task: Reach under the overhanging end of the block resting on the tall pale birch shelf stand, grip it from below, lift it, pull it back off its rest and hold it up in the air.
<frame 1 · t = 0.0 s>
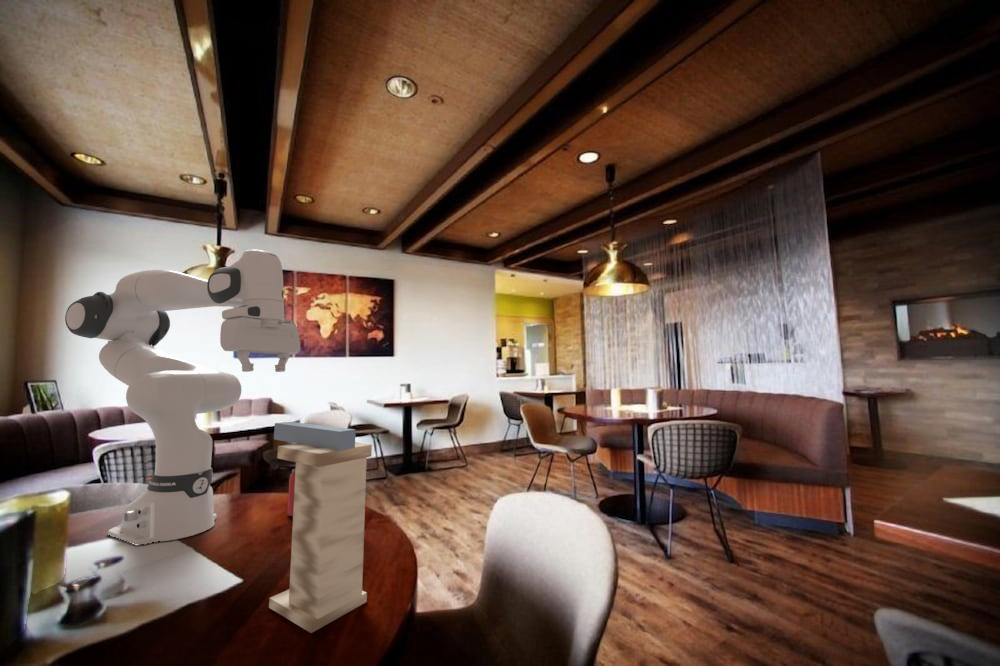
hand: (264, 371, 97), 39 cm above the table, tool pointing down, fingers open, 8 cm apart
beer can: (300, 514, 112), on the table
shelf stand: (318, 604, 68), on the table
block: (312, 443, 73), point 26 cm above the table, touching shelf stand
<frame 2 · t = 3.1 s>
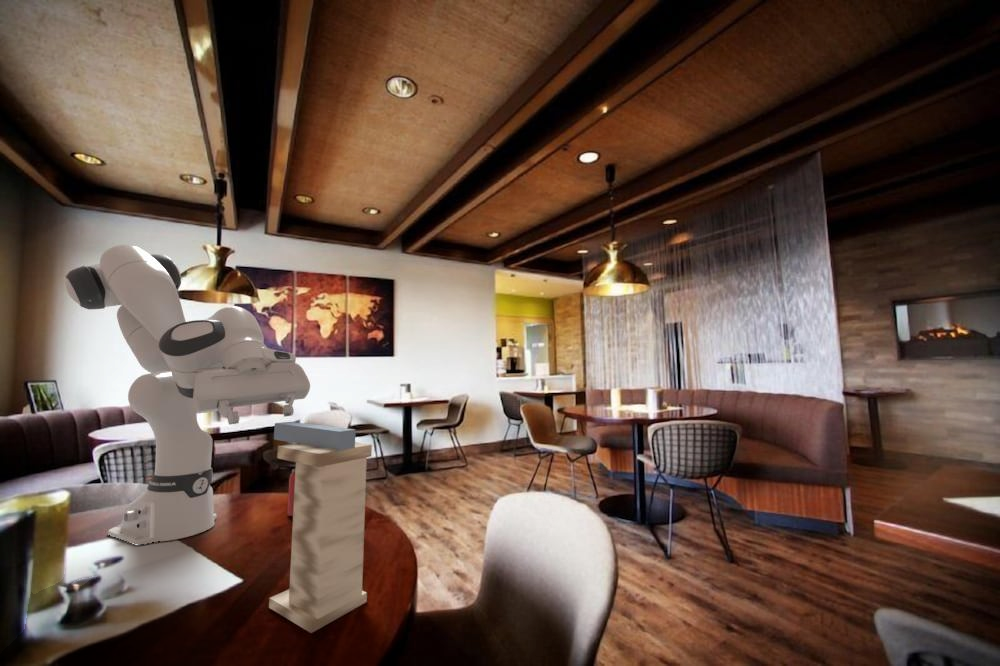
hand: (262, 418, 78), 30 cm above the table, tool tilted 45°, fingers open, 8 cm apart
nothing on the table moved.
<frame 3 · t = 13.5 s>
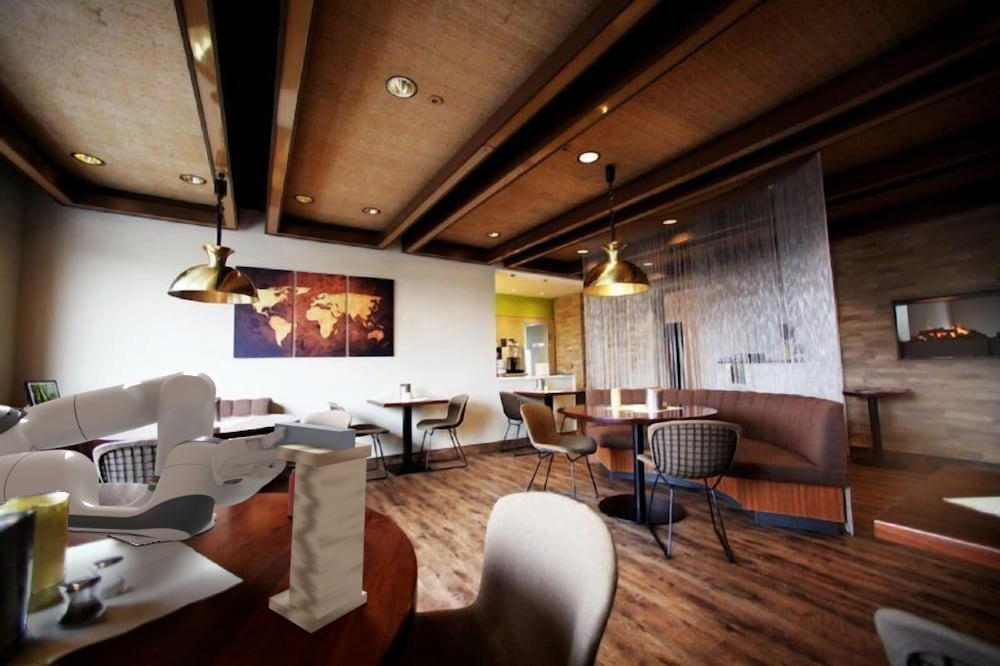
hand: (296, 429, 76), 28 cm above the table, tool pointing upward, fingers closed on block, 3 cm apart
block: (312, 443, 73), point 26 cm above the table, touching gripper, shelf stand
everything else where it was.
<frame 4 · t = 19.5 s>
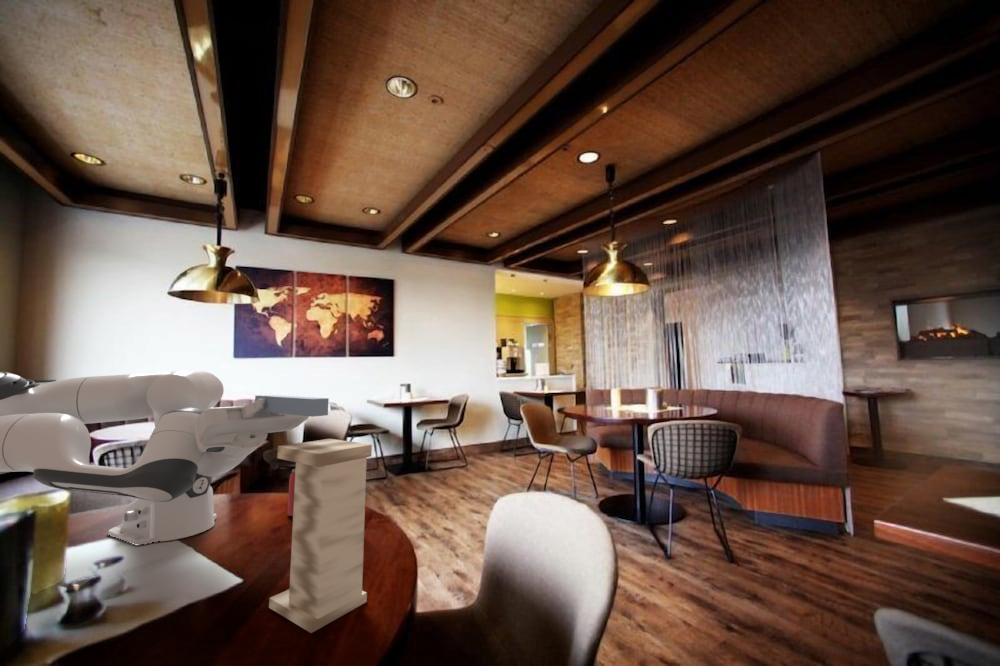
hand: (275, 401, 81), 33 cm above the table, tool pointing upward, fingers closed on block, 3 cm apart
block: (289, 412, 78), point 31 cm above the table, touching gripper
everything else where it was.
at the end: the gripper is holding block; block moved 9.4 cm from its start; block touching gripper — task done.
